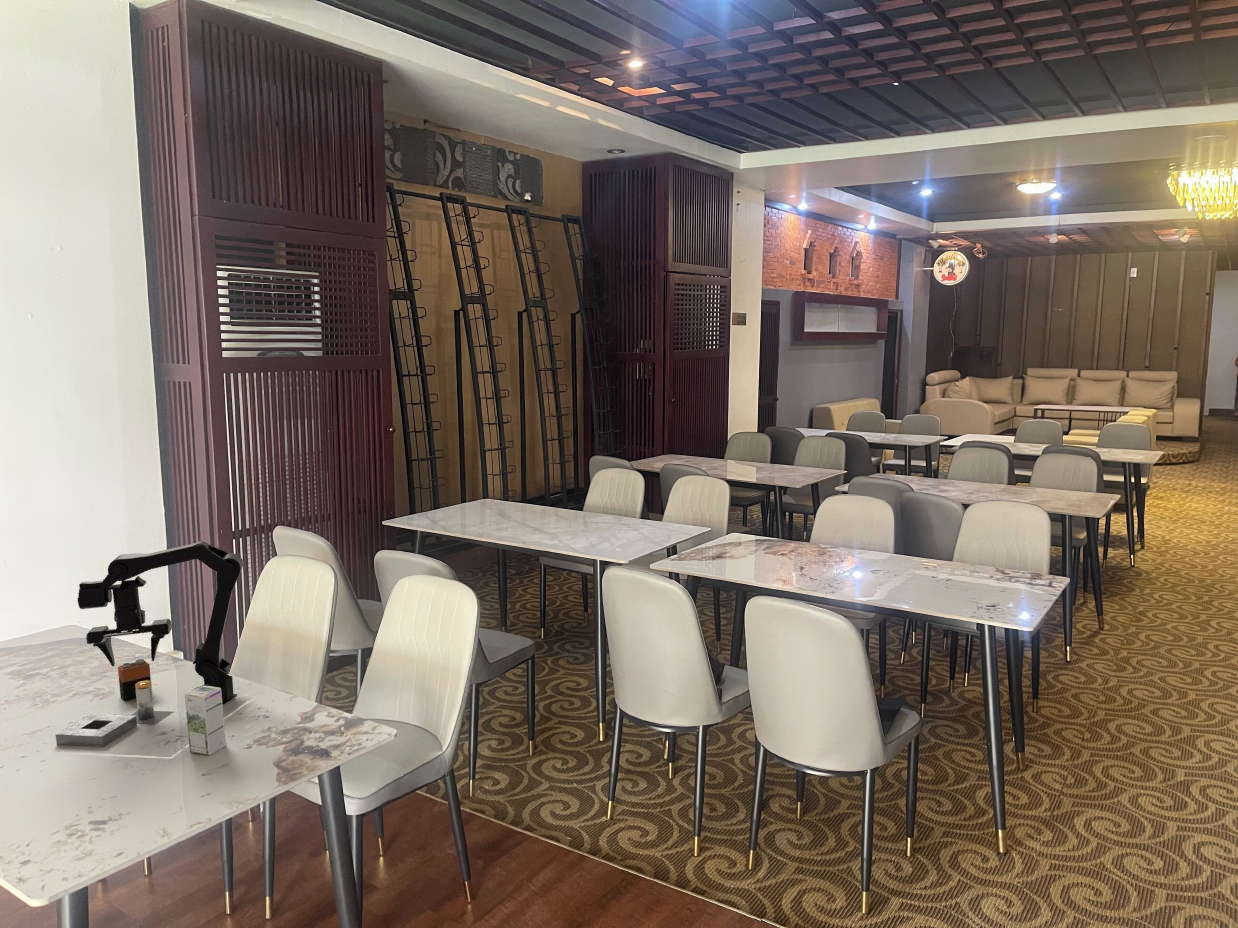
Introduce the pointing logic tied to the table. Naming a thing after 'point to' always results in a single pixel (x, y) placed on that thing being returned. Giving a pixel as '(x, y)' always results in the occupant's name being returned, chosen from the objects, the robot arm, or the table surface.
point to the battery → (132, 677)
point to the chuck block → (96, 730)
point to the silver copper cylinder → (144, 700)
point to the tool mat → (157, 717)
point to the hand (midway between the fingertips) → (133, 663)
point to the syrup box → (205, 720)
